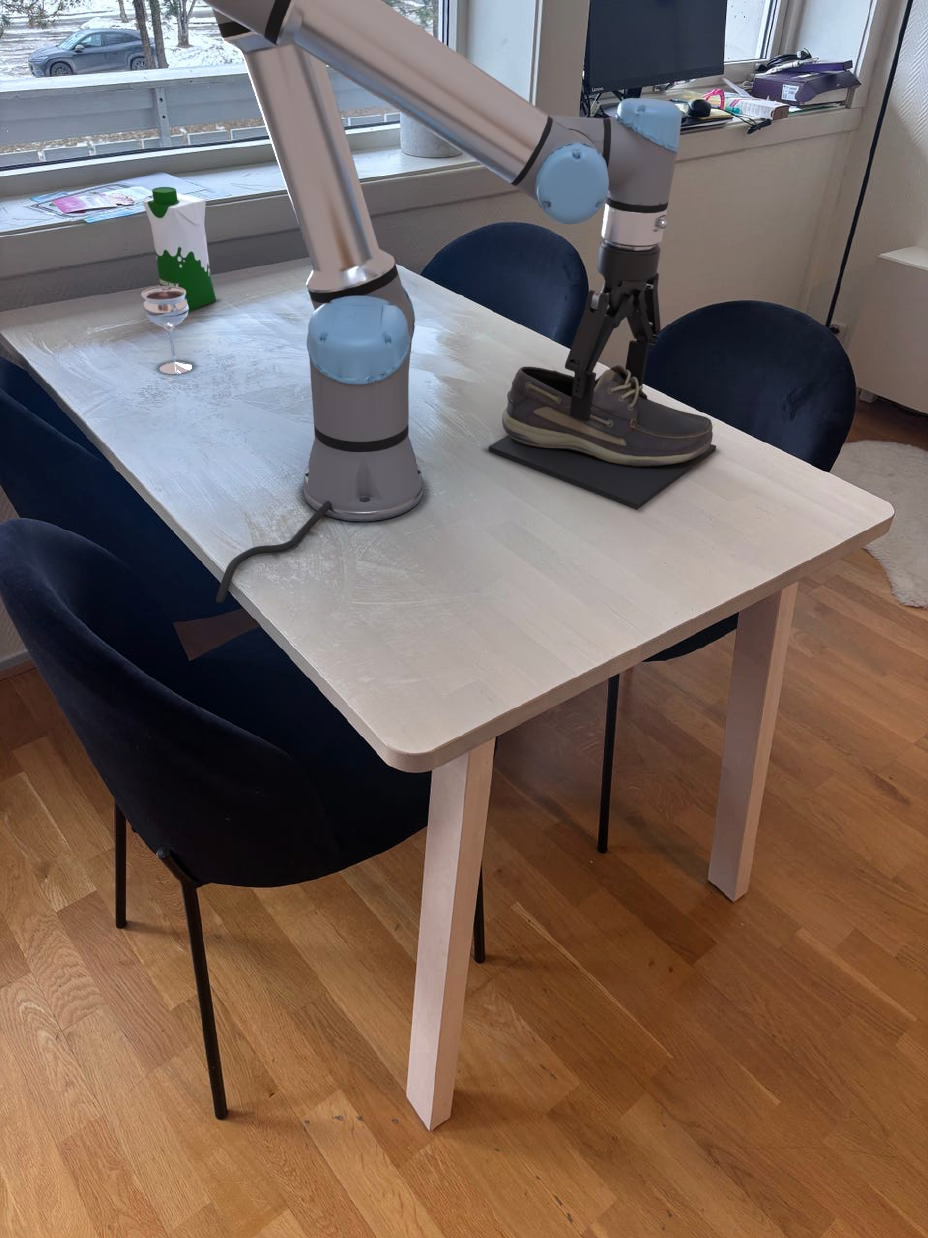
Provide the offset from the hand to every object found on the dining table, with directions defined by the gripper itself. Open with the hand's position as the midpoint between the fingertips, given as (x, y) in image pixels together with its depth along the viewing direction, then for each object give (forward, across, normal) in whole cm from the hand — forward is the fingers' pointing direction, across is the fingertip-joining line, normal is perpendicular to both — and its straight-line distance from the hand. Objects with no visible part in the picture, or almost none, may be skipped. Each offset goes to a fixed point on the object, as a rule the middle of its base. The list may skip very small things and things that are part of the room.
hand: (606, 402), depth 130 cm
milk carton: (+9, -1, +90) cm, 90 cm away
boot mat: (+7, 0, 0) cm, 7 cm away
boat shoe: (+7, 0, 0) cm, 7 cm away
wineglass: (+9, -22, +67) cm, 71 cm away
